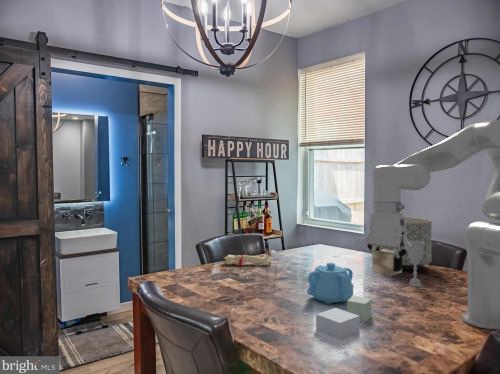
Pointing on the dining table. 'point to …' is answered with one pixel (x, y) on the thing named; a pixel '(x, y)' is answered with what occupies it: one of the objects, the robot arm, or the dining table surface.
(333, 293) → the decorative pot
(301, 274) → the dining table surface
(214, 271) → the dining table surface
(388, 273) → the maple cube
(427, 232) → the planter
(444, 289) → the dining table surface
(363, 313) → the sage cube
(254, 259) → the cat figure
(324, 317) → the base block
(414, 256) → the chalice
